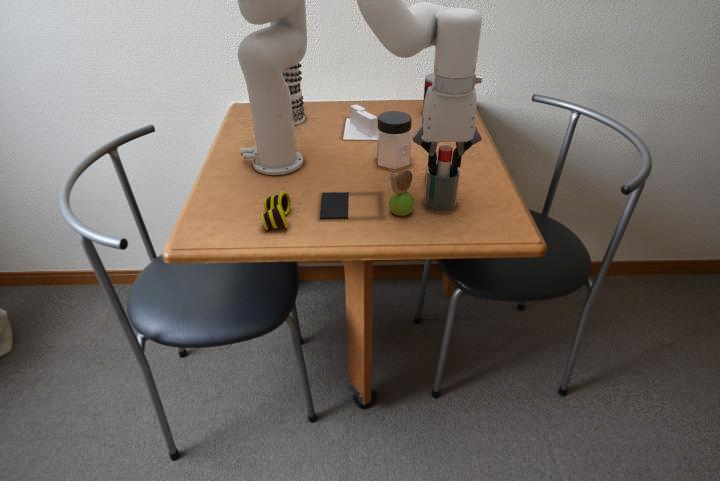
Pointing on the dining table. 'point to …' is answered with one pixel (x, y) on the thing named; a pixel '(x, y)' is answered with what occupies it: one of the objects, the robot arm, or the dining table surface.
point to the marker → (444, 161)
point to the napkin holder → (360, 124)
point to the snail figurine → (401, 193)
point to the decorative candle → (295, 92)
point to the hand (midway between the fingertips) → (443, 169)
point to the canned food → (427, 84)
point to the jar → (394, 139)
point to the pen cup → (441, 190)
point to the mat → (334, 205)
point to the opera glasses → (276, 210)
